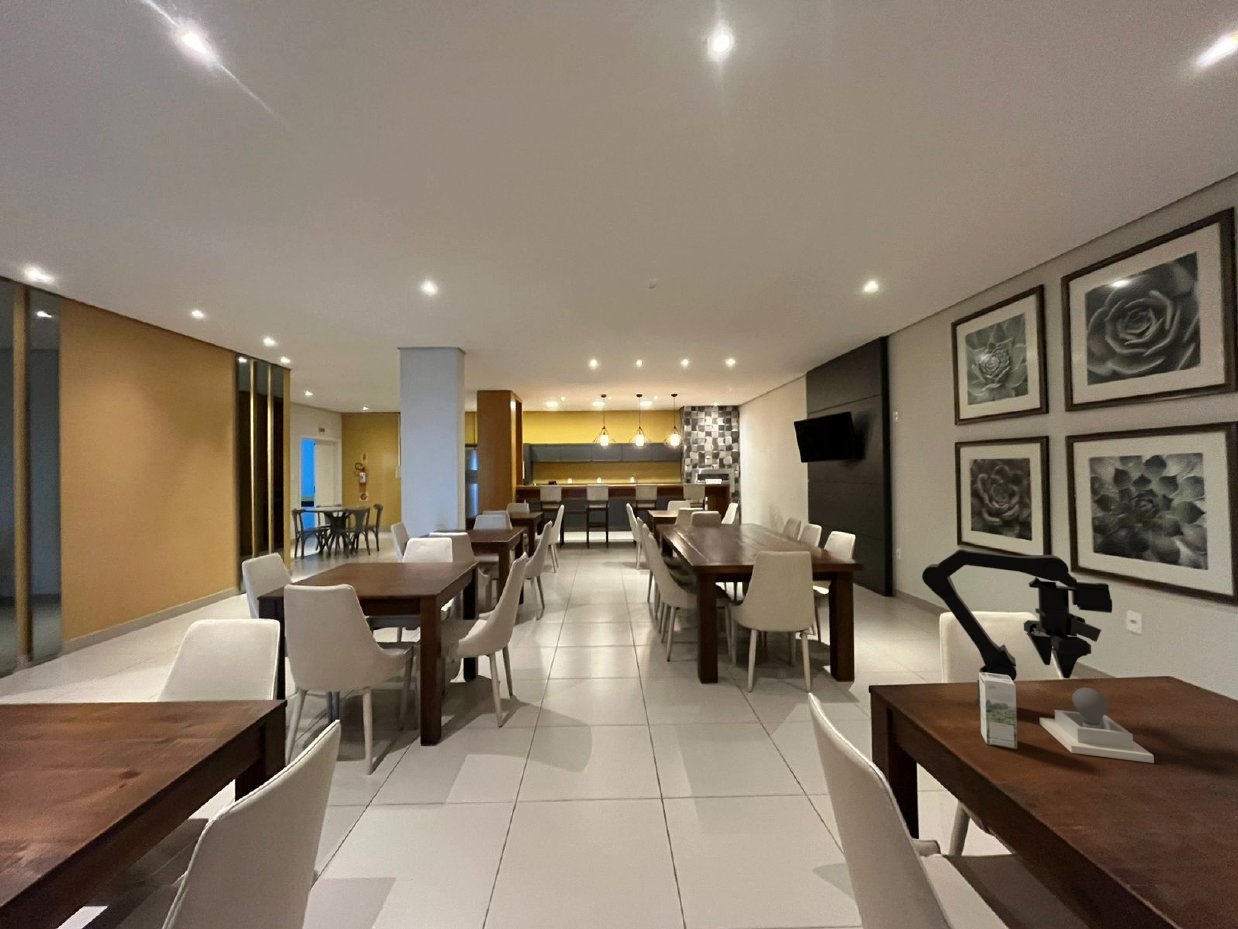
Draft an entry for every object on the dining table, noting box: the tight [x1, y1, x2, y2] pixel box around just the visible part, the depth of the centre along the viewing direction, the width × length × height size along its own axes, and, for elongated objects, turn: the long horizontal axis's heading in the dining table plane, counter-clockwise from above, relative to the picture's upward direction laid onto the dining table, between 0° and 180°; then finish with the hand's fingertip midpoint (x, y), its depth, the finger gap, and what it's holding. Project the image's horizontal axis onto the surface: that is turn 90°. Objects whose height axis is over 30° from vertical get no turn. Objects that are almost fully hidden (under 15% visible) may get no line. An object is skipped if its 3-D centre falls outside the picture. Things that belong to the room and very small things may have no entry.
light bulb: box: [1071, 687, 1109, 729], centre depth 114 cm, size 6×6×10 cm
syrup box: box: [978, 672, 1018, 750], centre depth 115 cm, size 6×6×14 cm
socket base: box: [1039, 709, 1155, 764], centre depth 114 cm, size 14×14×4 cm
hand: (1056, 671), depth 125 cm, fingers open, 9 cm apart
